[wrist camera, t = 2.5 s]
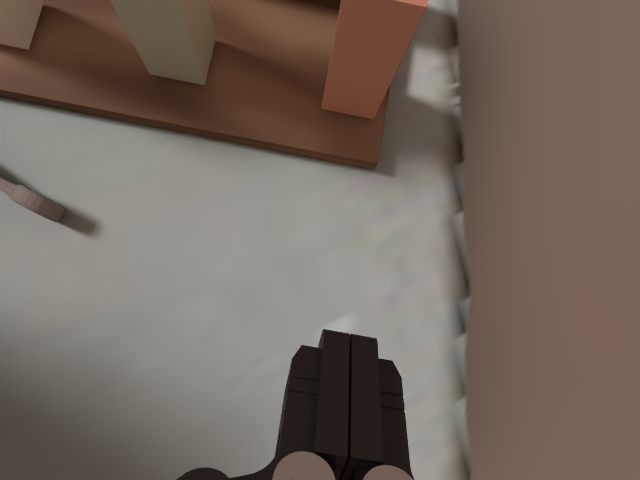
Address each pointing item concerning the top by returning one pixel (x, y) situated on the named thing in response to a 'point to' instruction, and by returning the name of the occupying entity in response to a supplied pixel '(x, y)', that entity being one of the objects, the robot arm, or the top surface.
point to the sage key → (171, 36)
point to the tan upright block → (19, 21)
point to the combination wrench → (32, 200)
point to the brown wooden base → (221, 83)
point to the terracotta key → (368, 52)
